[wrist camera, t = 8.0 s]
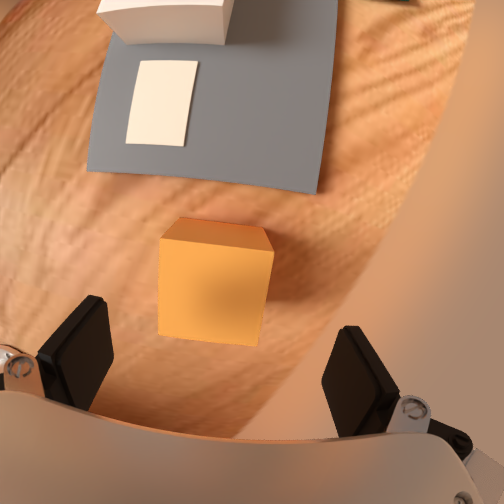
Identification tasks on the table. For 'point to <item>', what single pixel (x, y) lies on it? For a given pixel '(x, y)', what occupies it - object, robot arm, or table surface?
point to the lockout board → (216, 90)
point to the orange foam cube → (213, 281)
